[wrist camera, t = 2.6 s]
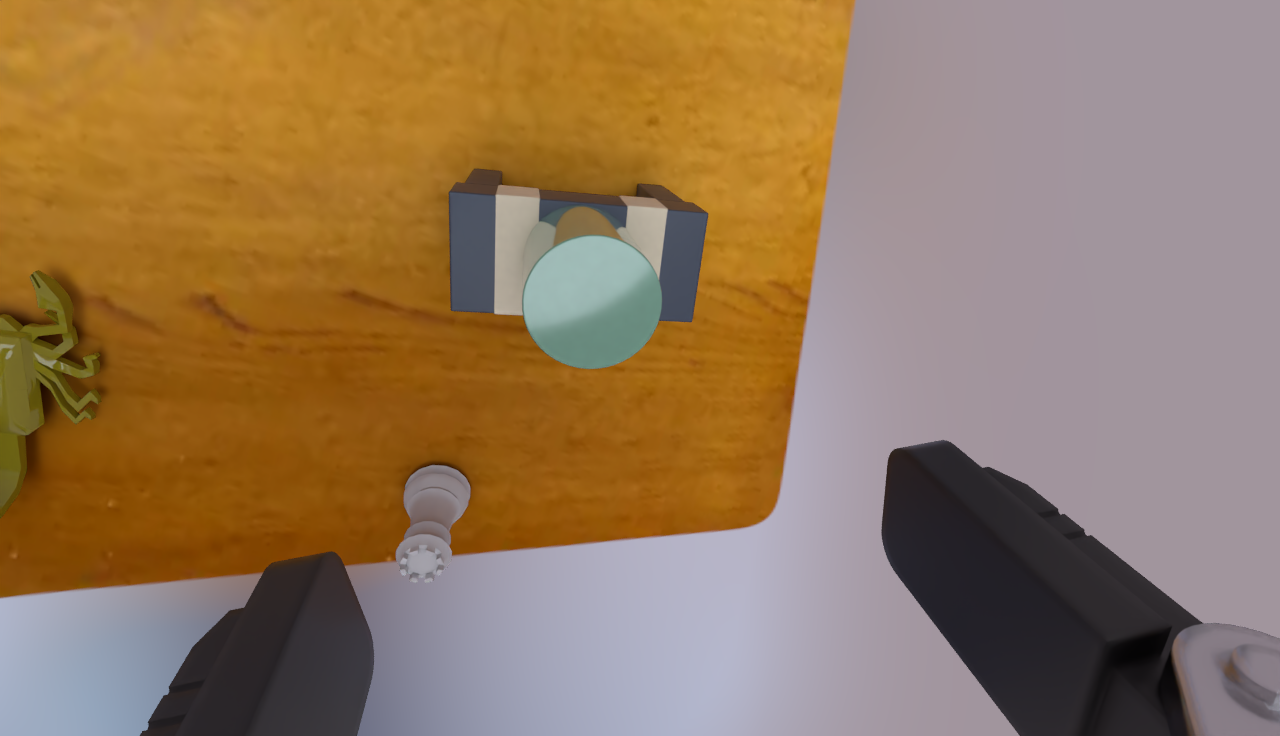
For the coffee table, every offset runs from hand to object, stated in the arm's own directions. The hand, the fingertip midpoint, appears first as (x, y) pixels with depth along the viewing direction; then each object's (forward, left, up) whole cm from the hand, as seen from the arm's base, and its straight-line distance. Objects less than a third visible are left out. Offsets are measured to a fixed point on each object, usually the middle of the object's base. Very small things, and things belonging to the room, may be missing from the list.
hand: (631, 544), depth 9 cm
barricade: (+1, -1, -31) cm, 31 cm away
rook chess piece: (-7, -21, -31) cm, 38 cm away
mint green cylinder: (+1, -1, -22) cm, 22 cm away
